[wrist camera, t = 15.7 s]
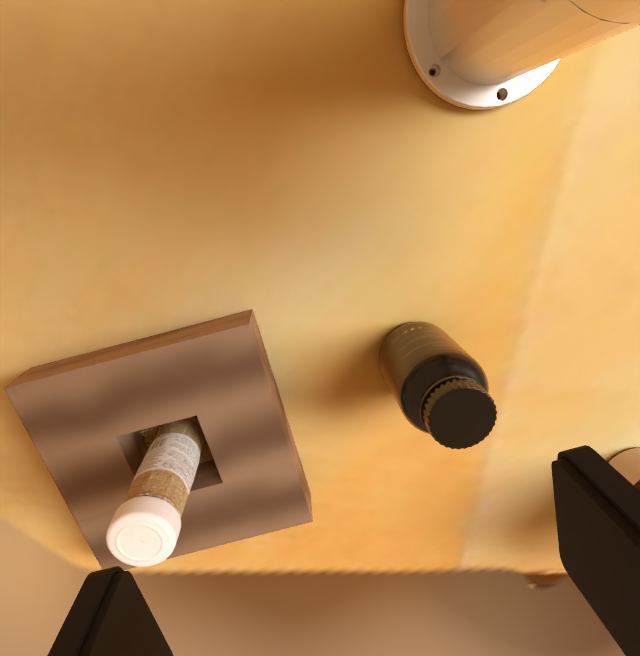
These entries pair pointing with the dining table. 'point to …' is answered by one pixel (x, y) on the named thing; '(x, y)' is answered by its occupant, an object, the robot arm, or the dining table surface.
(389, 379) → the supplement bottle
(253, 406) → the walnut holder
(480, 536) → the dining table surface
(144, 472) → the sprinkles bottle
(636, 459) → the coffee cup
